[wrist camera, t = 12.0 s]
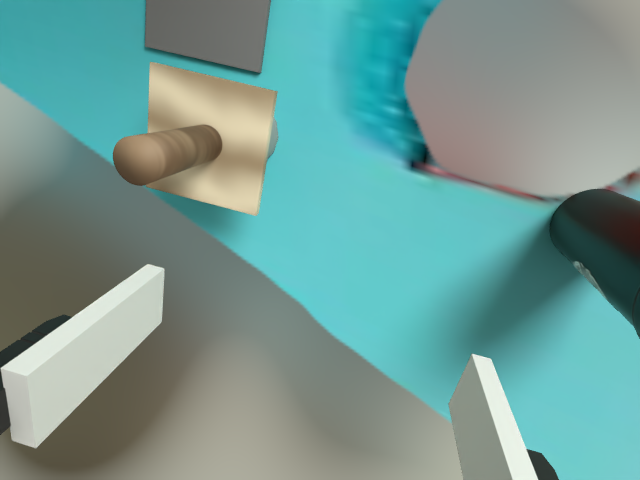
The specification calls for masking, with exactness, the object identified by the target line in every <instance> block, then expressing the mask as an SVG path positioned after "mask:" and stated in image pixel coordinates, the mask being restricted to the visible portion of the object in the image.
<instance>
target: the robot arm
mask: <svg viewBox="0 0 640 480" xmlns="http://www.w3.org/2000/svg"><path fill="white" fill-rule="evenodd" d="M163 287H164V268H160V267H156V266H153V265H149V264H147V265H146V266H144V267H143V268H141V269H140V270H139V271H137V272H136V273H134V274H133V275H132V276H130V277H129V278H127V279H126V280H124V281H123V282H122V283H120V284H119V285H118V286H116V287H115V288H113V289H112V290H110V291H109V292H108V293H106V294H105V295H103V296H102V297H100V298H99V299H98V300H96V301H95V302H94V303H92V304H91V305H89V306H88V307H87V308H85V309H84V310H82V311H81V312H79V313H78V314H76V315H75V316H74V317H70V316H67V315H62V316H59V317H56V318H54V319H51V320H48V321H46V322H44V323H43V324H41V325H40V326H38V327H37V328H35V329H34V330H33V331H32V332H31V333H30V332H29V333H28V334H26V335H25V336H24V337H22V338H21V340H17V341H16V342H14V343H13V344H11V345H10V346H8V347H7V348H5V349H4V350H2V351H1V352H0V435H1V434H2V433H3V432H4V431H5V430H6V429H7V428H9V427H10V431H11V437H12V441H15V442H18V443H21V444H24V445H27V446H30V447H33V448H37V447H38V446H39V445H40V444H41V442H43V440H44V439H46V438H47V436H49V434H50V433H52V432H53V430H54V429H56V427H57V426H58V425H59V424H60V423H61V422H62V421H63V420H64V419H65V418H66V417H67V416H68V415H69V414H70V413H71V412H72V411H73V410H74V409H75V408H76V407H77V406H78V405H79V404H80V403H81V402H82V401H83V400H84V399H85V398H86V397H87V396H88V395H89V394H90V393H91V392H92V391H93V390H94V389H95V388H96V387H97V386H98V385H99V384H100V383H101V382H102V381H103V380H104V379H105V378H106V377H107V376H108V375H109V374H110V373H111V372H112V371H113V370H114V369H115V368H116V367H117V366H118V365H119V364H120V363H121V362H122V361H123V360H124V359H125V358H126V357H127V356H128V355H129V354H130V353H131V352H132V351H133V350H134V349H135V348H136V347H137V346H138V345H139V344H140V343H141V342H142V341H143V340H144V339H145V338H146V337H147V336H148V335H149V334H150V333H151V332H152V331H153V330H154V329H155V328H156V327H157V326H158V325H159V324H160V323H161V322H162V306H163ZM449 409H450V414H451V419H452V424H453V429H454V434H455V439H456V444H457V449H458V454H459V460H460V465H461V470H462V475H463V480H559V479H558V477H557V474H556V472H555V470H554V469H553V467H552V466H551V465H550V464H549V462H548V461H547V460H546V458H545V457H544V456H543V455H542V453H539V452H535V451H532V450H528V449H526V447H525V445H524V442H523V440H522V437H521V434H520V432H519V429H518V427H517V424H516V422H515V419H514V416H513V414H512V411H511V409H510V406H509V404H508V401H507V399H506V396H505V393H504V391H503V388H502V386H501V383H500V381H499V378H498V375H497V373H496V370H495V368H494V365H493V363H492V360H491V359H490V358H486V357H482V356H479V355H475V354H471V356H470V359H469V361H468V363H467V365H466V367H465V369H464V372H463V374H462V376H461V378H460V380H459V383H458V385H457V387H456V389H455V391H454V393H453V396H452V398H451V400H450V402H449Z"/></svg>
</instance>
